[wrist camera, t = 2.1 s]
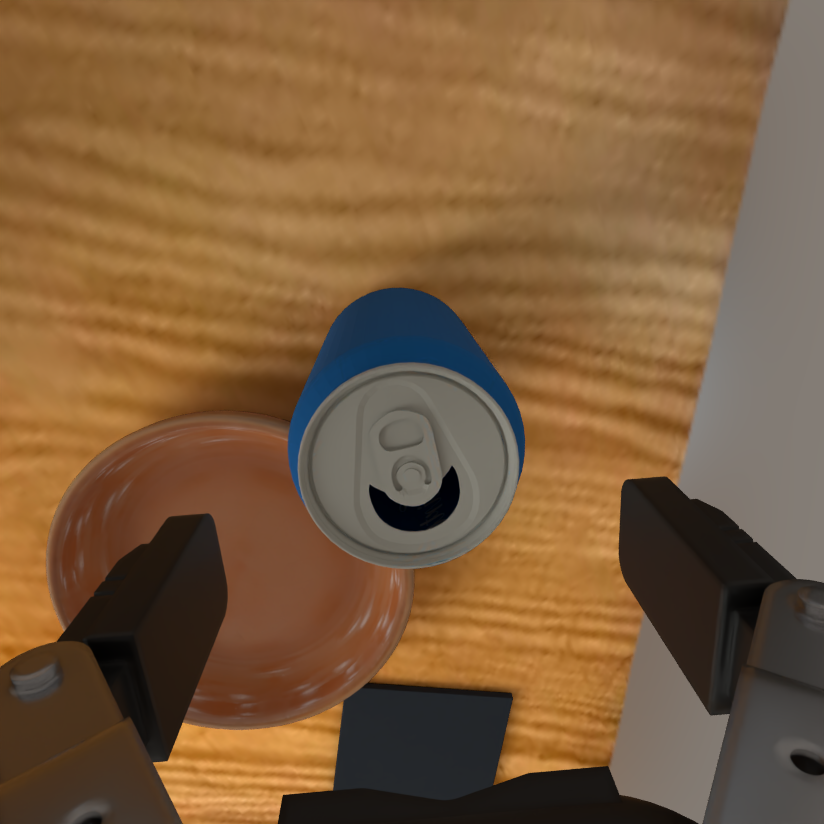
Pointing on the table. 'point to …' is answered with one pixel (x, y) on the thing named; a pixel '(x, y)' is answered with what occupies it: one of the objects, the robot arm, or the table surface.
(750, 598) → the robot arm
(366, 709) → the coaster
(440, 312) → the beverage can
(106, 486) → the saucer
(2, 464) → the table surface
